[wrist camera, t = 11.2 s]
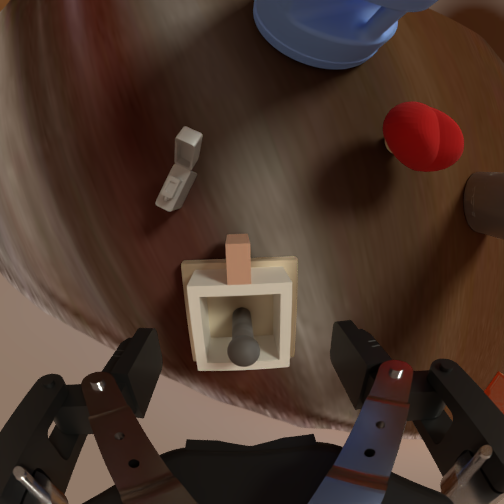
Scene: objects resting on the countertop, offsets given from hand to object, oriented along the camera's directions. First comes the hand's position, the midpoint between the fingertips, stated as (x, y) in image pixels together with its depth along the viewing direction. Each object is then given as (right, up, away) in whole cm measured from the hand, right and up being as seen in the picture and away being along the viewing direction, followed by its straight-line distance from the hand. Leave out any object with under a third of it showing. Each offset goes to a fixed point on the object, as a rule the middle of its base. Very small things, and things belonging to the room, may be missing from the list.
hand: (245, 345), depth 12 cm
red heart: (+17, +17, +16) cm, 28 cm away
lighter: (-6, +12, +16) cm, 21 cm away
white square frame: (-1, 0, +17) cm, 17 cm away
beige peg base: (-1, -2, +19) cm, 19 cm away
